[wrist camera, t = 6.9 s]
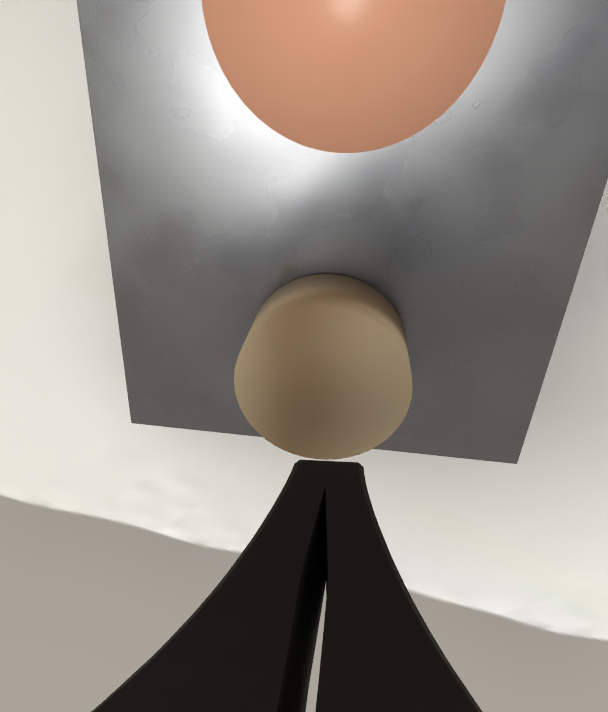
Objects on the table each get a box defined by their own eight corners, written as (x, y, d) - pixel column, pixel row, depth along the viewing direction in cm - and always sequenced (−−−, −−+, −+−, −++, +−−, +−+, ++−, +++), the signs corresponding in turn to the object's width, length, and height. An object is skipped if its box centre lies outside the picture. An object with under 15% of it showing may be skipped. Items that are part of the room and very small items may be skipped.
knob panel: (886, -927, 8) (1074, -1289, 6) (500, 422, 21) (516, 463, 19) (29, -877, 9) (-76, -1176, 7) (155, 387, 22) (131, 422, 19)
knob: (417, 281, 16) (426, 315, 13) (395, 419, 18) (399, 467, 16) (251, 267, 16) (232, 298, 14) (250, 404, 18) (234, 450, 16)
